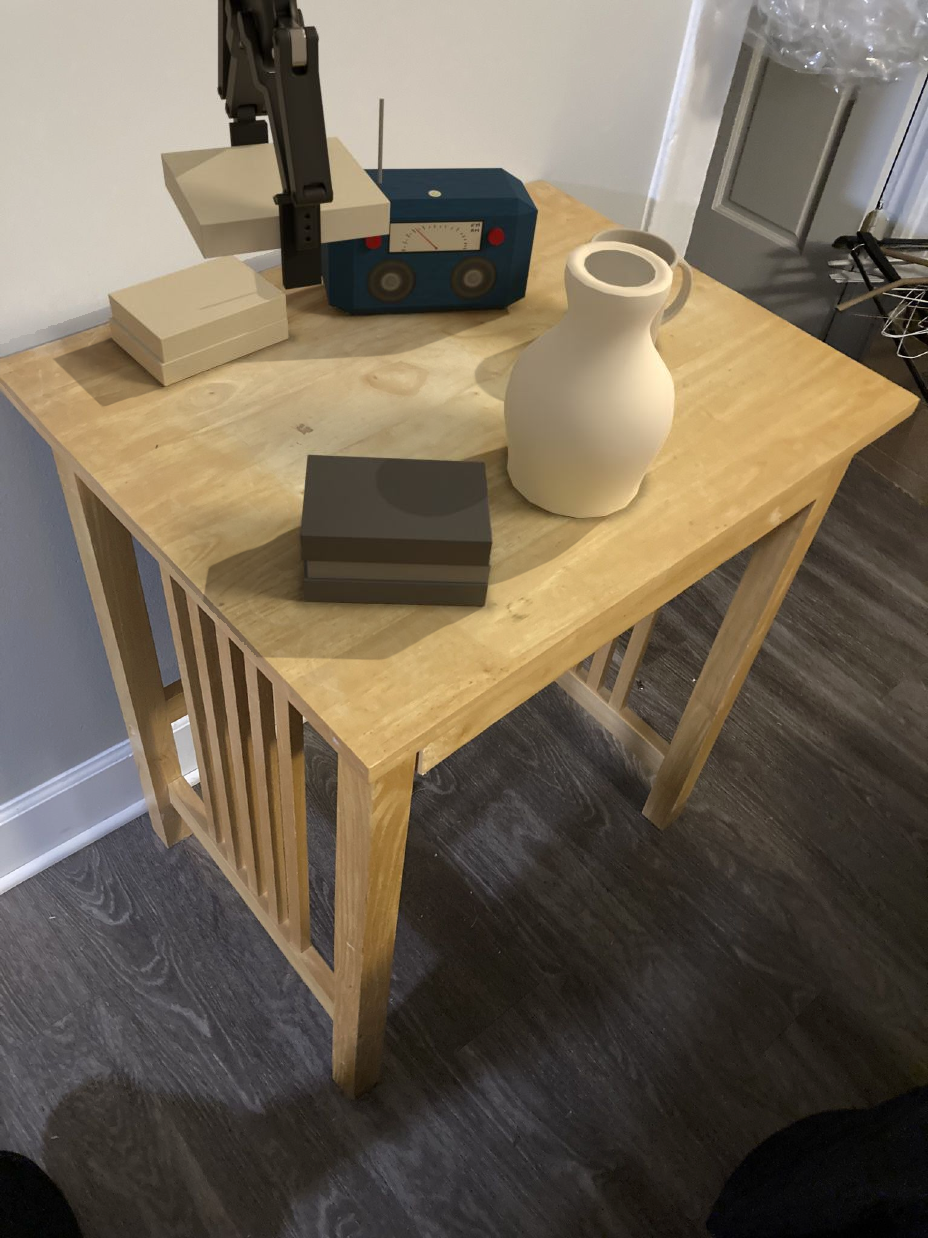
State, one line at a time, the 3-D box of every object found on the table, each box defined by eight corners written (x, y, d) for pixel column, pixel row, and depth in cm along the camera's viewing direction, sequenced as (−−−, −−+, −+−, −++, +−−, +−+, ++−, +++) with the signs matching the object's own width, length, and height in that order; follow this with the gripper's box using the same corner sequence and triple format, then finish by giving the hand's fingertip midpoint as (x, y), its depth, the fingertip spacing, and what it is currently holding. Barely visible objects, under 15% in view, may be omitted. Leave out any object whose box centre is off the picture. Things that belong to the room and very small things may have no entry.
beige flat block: (204, 259, 66) (200, 225, 64) (165, 185, 72) (160, 152, 70) (389, 234, 70) (390, 201, 69) (337, 167, 77) (337, 136, 75)
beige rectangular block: (164, 386, 90) (157, 341, 86) (111, 338, 94) (102, 293, 91) (288, 338, 97) (286, 294, 93) (234, 295, 101) (230, 252, 98)
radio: (331, 324, 99) (328, 120, 84) (320, 279, 105) (315, 80, 90) (526, 315, 104) (557, 120, 89) (506, 273, 109) (531, 82, 94)
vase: (461, 465, 86) (485, 254, 72) (563, 404, 94) (605, 202, 79) (583, 551, 81) (638, 341, 66) (682, 479, 88) (752, 276, 73)
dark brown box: (303, 601, 74) (300, 535, 69) (309, 520, 80) (307, 454, 75) (485, 606, 76) (495, 541, 70) (478, 526, 81) (487, 461, 76)
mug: (562, 349, 100) (580, 259, 93) (582, 305, 106) (601, 216, 99) (665, 376, 99) (691, 286, 91) (679, 329, 105) (705, 241, 97)
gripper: (392, -49, 52) (380, 319, 68) (260, -159, 65) (277, 170, 81) (253, -44, 49) (276, 336, 65) (146, -160, 62) (188, 180, 79)
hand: (277, 244), depth 73 cm, fingers closed on beige flat block, 11 cm apart
